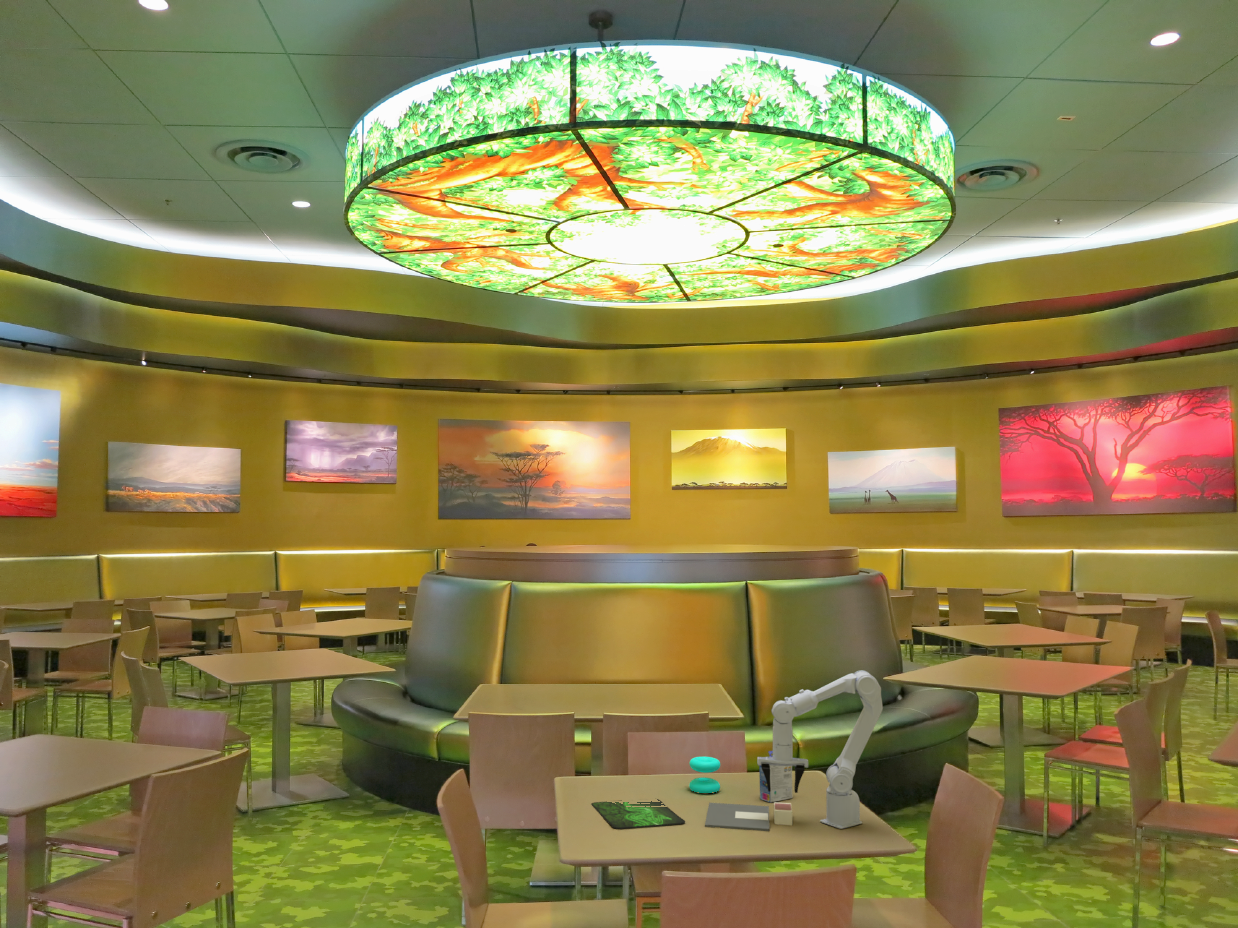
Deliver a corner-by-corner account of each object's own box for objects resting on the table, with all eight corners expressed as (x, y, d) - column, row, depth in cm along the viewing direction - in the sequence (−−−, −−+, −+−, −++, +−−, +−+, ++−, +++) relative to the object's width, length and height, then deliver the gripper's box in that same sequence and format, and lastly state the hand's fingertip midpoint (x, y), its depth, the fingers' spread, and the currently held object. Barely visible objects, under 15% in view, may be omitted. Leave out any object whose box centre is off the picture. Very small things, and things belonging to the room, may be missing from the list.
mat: (768, 808, 277) (768, 805, 277) (769, 830, 256) (769, 828, 256) (709, 804, 280) (709, 802, 280) (704, 826, 258) (704, 824, 258)
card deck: (791, 816, 270) (791, 802, 270) (792, 825, 261) (792, 811, 261) (773, 815, 270) (774, 801, 271) (774, 824, 262) (774, 810, 262)
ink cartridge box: (781, 794, 293) (781, 748, 294) (793, 798, 288) (793, 751, 289) (758, 798, 287) (758, 751, 288) (770, 803, 283) (770, 755, 284)
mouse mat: (588, 803, 280) (588, 800, 280) (656, 798, 286) (656, 795, 286) (613, 831, 254) (614, 827, 254) (687, 825, 260) (687, 821, 260)
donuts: (687, 761, 292) (691, 754, 302) (686, 793, 292) (691, 785, 301) (718, 763, 290) (722, 756, 300) (718, 796, 289) (721, 787, 299)
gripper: (806, 741, 270) (806, 788, 269) (756, 739, 271) (756, 786, 270) (808, 746, 263) (808, 795, 262) (757, 744, 264) (757, 792, 263)
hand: (782, 791), depth 265 cm, fingers open, 7 cm apart
